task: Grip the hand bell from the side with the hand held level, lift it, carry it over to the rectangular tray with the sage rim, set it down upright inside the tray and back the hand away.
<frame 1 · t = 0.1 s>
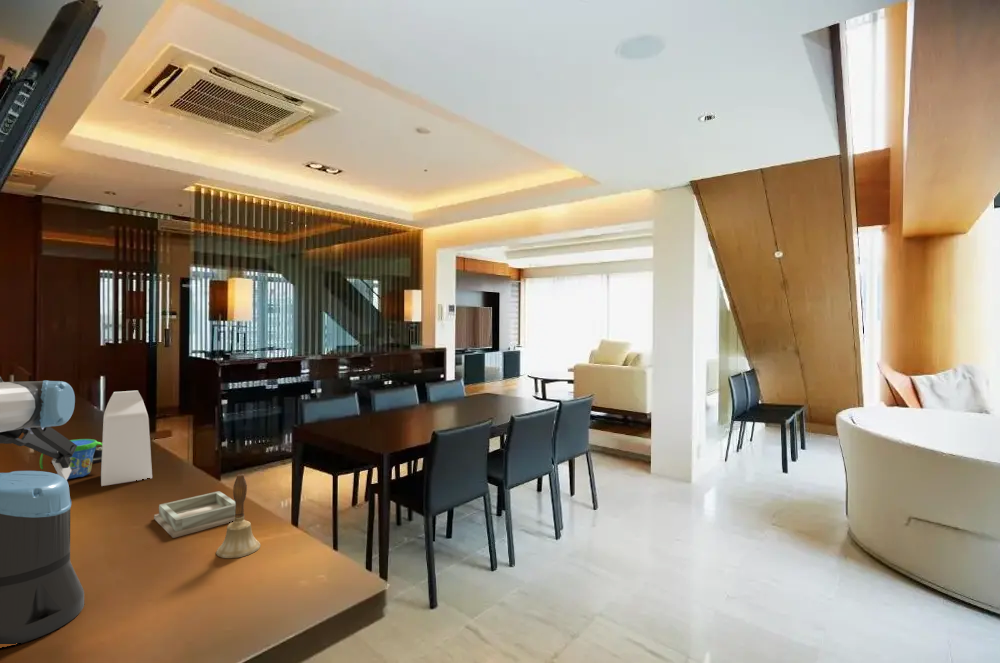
hand: (26, 478, 103), 15 cm above the counter, tool tilted 35°, fingers open, 13 cm apart
hand bell: (238, 550, 106), on the counter
snack cup: (74, 476, 151), on the counter
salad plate: (91, 459, 170), on the counter
milk: (126, 477, 151), on the counter
rectangular tray: (199, 518, 121), on the counter
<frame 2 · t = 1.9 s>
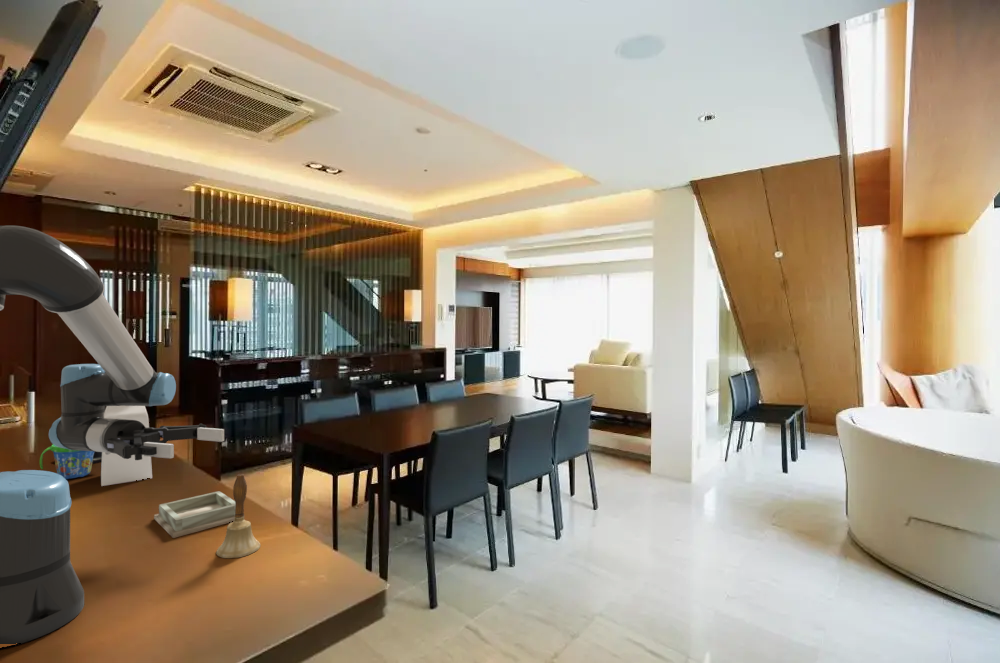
hand: (199, 442, 107), 22 cm above the counter, tool horizontal, fingers open, 13 cm apart
nothing on the counter moved.
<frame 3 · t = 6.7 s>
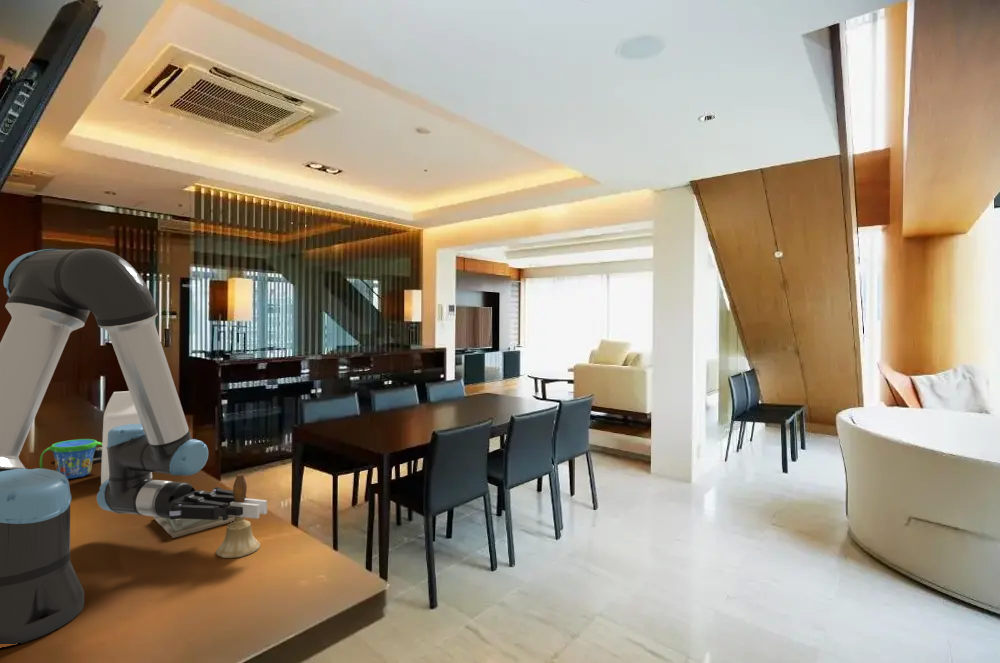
hand: (262, 509, 104), 9 cm above the counter, tool horizontal, fingers closed on hand bell, 2 cm apart
hand bell: (238, 550, 105), on the counter, touching gripper
everything else where it was.
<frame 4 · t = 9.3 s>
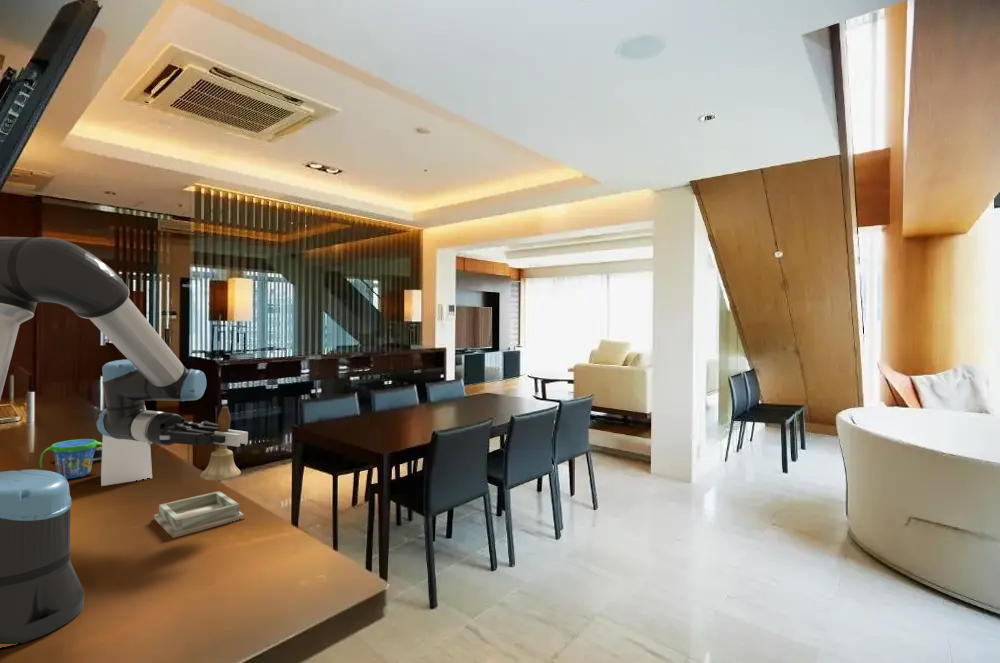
hand: (242, 439, 115), 21 cm above the counter, tool horizontal, fingers closed on hand bell, 2 cm apart
hand bell: (220, 475, 116), point 12 cm above the counter, touching gripper
everything else where it was.
when the fingers open (11 cm above the counter, at t = 12.3 s): hand bell drops 1 cm, resting on rectangular tray.
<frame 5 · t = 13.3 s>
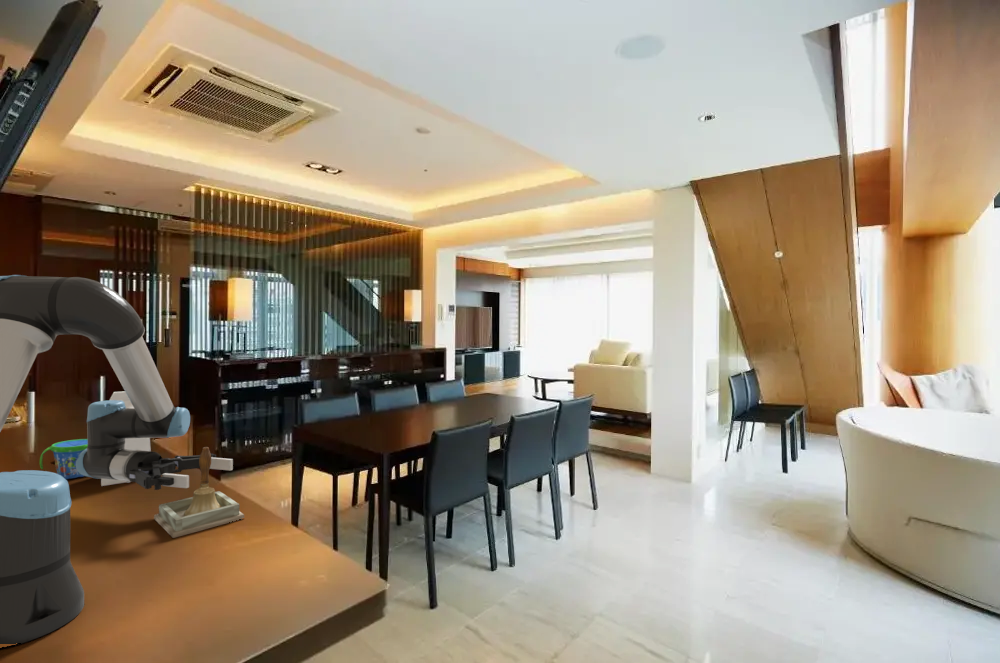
hand: (211, 472, 120), 11 cm above the counter, tool horizontal, fingers open, 13 cm apart
hand bell: (203, 512, 122), point 1 cm above the counter, touching rectangular tray
everything else where it was.
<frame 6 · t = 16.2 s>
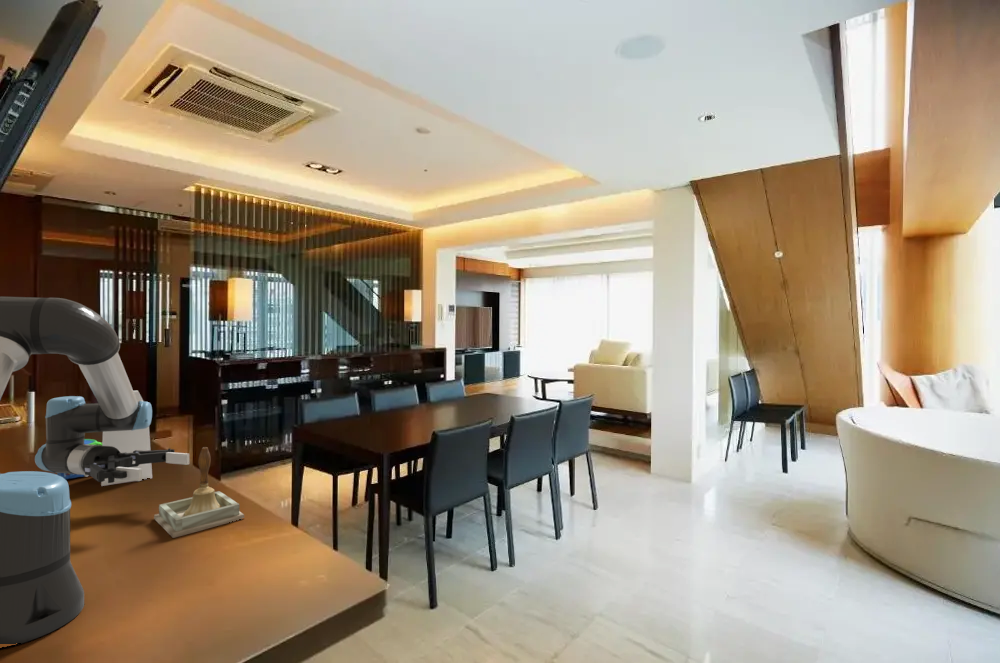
hand: (165, 466, 123), 12 cm above the counter, tool horizontal, fingers open, 13 cm apart
nothing on the counter moved.
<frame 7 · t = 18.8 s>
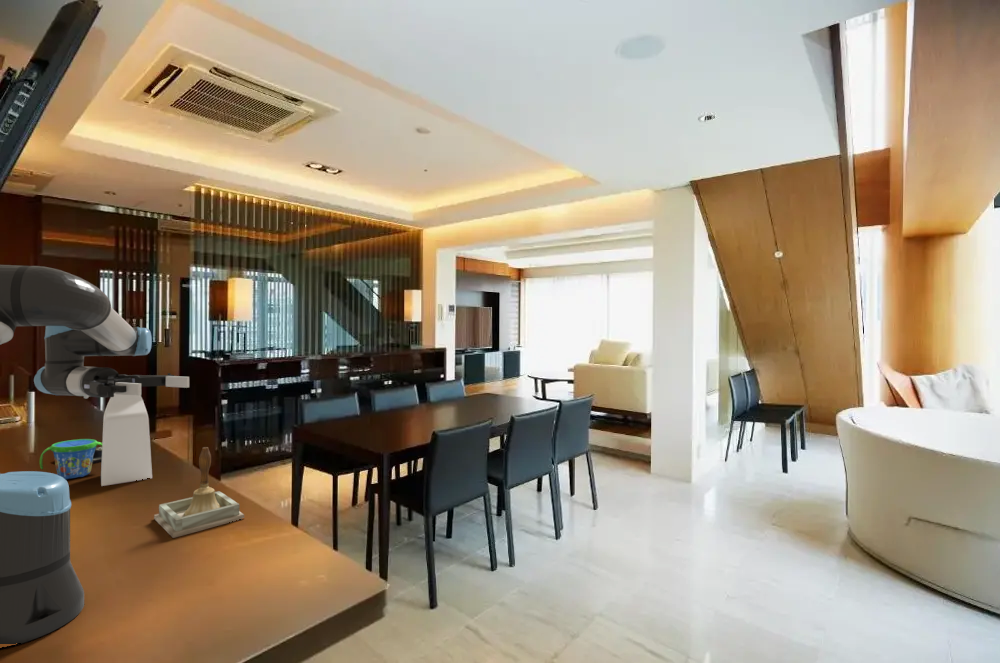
hand: (165, 385, 122), 32 cm above the counter, tool horizontal, fingers open, 13 cm apart
nothing on the counter moved.
at the end: hand bell 1.6 cm off-centre on the rectangular tray, point 0.8 cm above the rectangular tray's base; hand bell tilted 0°; the gripper is holding nothing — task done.
